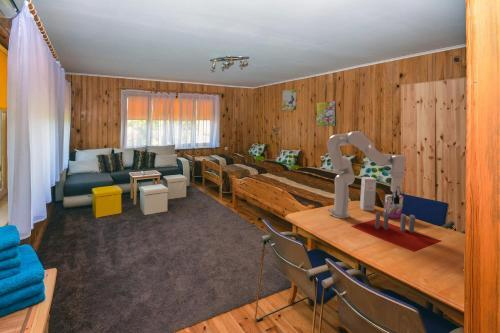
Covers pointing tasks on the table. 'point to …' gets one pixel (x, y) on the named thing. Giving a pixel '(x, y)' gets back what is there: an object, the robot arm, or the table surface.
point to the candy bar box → (390, 209)
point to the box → (368, 193)
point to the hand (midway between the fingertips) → (395, 202)
